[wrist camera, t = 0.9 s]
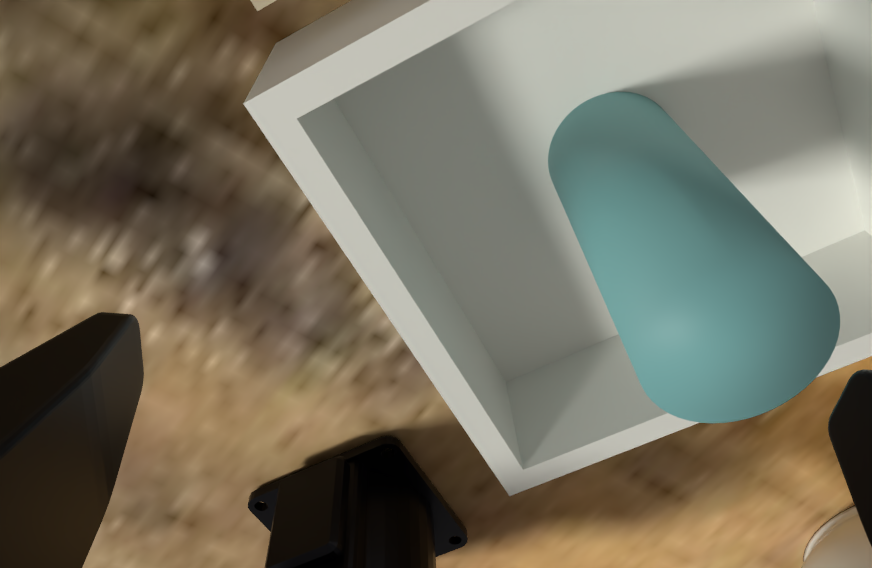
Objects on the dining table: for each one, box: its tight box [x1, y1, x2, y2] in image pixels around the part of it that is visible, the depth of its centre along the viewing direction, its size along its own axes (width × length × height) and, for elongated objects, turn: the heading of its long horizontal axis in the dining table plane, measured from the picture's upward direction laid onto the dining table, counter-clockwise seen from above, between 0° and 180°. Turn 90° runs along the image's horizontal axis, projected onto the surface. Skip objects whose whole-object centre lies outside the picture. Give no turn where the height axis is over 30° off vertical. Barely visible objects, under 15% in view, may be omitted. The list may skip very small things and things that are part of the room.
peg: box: [548, 92, 840, 423], centre depth 17 cm, size 4×4×9 cm
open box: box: [243, 0, 872, 496], centre depth 20 cm, size 14×14×5 cm
